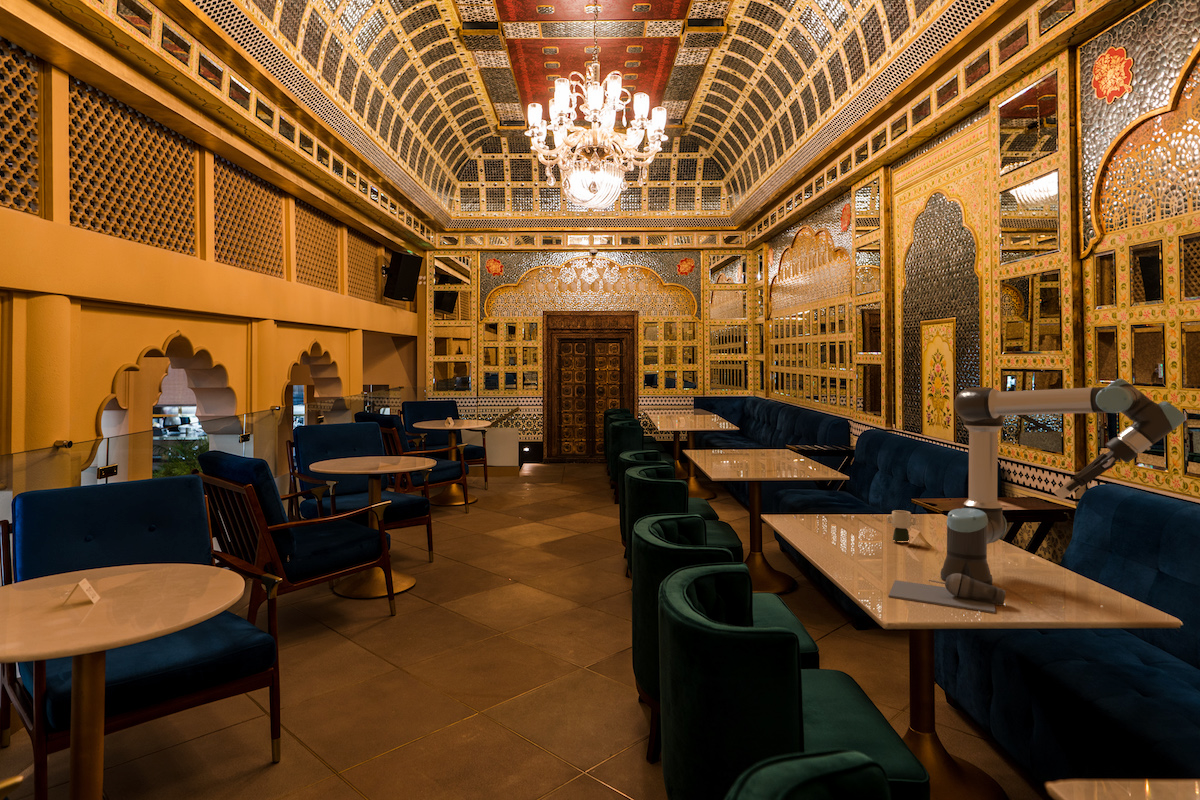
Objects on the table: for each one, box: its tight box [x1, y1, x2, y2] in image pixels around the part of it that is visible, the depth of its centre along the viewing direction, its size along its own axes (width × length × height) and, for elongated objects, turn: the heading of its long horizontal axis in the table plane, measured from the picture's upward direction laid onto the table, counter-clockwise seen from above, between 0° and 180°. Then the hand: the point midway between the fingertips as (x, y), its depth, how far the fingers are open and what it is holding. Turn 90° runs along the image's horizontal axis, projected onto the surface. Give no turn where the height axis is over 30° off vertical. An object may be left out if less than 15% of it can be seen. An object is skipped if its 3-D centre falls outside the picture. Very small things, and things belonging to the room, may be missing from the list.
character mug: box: [886, 509, 917, 542], centre depth 267 cm, size 11×7×13 cm, turn 69°
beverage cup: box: [928, 573, 1007, 606], centre depth 195 cm, size 7×7×20 cm
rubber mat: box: [888, 579, 996, 614], centre depth 198 cm, size 28×18×1 cm, turn 60°
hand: (1057, 496), depth 199 cm, fingers closed
